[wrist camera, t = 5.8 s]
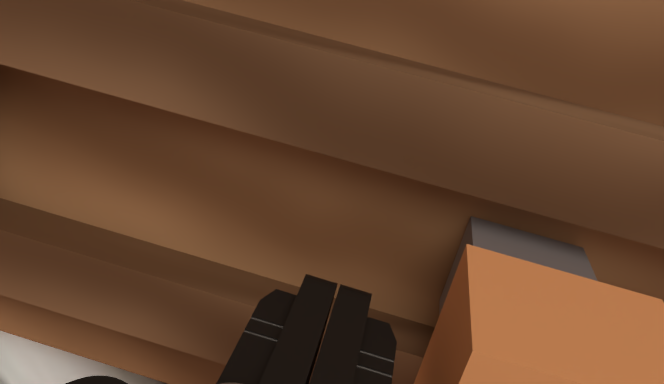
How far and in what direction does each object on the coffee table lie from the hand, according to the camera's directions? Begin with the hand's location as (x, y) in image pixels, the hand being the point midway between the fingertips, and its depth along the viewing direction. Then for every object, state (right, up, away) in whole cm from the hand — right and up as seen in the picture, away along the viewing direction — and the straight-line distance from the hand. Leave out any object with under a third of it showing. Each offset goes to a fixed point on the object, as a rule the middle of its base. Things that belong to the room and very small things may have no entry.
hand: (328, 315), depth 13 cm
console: (+2, +2, +5) cm, 6 cm away
